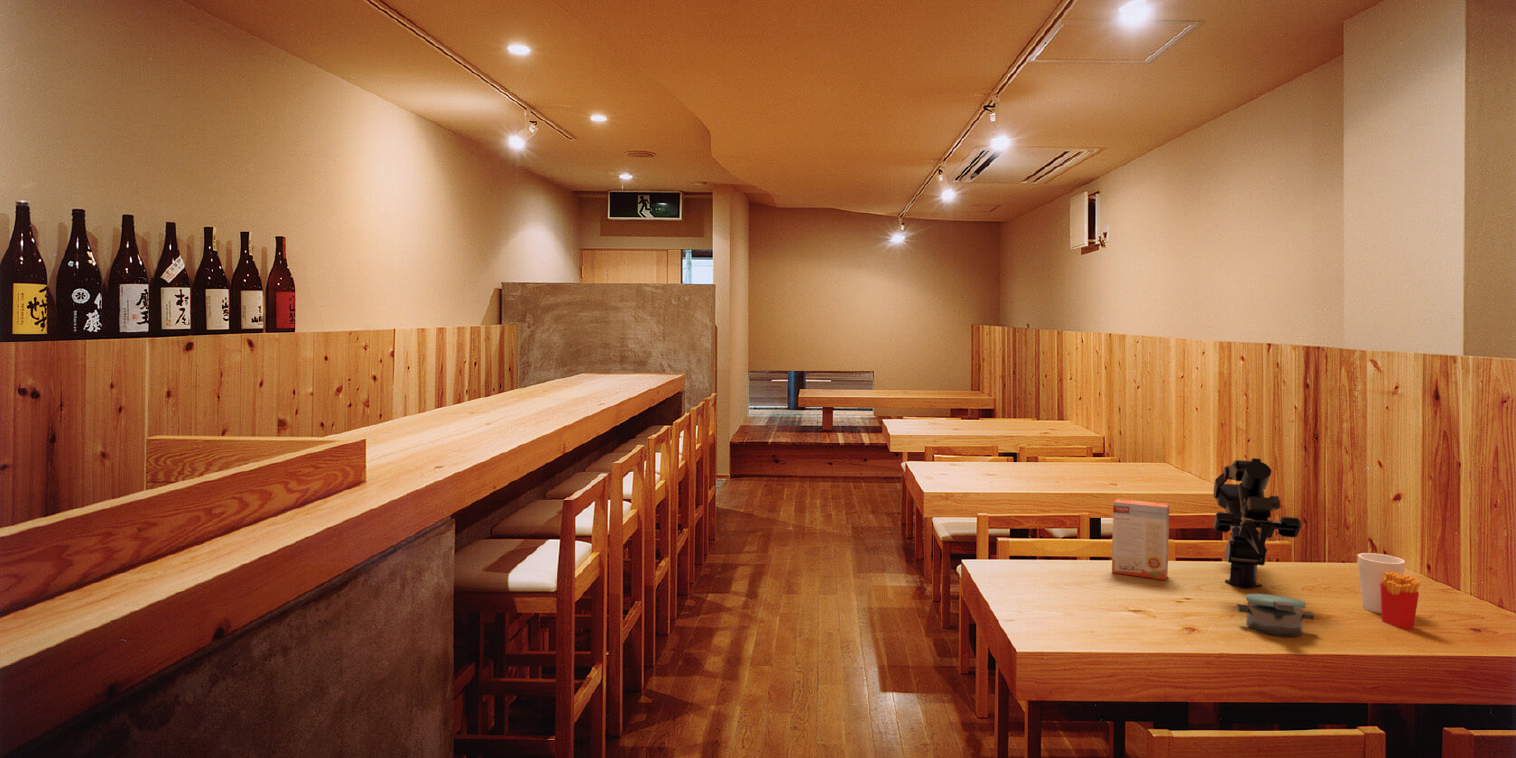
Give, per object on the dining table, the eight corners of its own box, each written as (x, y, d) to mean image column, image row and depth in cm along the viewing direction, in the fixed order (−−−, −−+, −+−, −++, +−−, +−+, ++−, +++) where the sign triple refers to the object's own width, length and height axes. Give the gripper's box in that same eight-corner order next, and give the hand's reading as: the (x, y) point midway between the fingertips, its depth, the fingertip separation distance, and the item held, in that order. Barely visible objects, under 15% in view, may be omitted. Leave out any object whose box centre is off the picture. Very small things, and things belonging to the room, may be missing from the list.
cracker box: (1167, 575, 230) (1170, 503, 228) (1165, 581, 225) (1167, 507, 223) (1114, 567, 237) (1116, 497, 236) (1111, 573, 232) (1113, 501, 231)
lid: (1241, 596, 196) (1241, 591, 197) (1297, 601, 192) (1297, 596, 193) (1255, 607, 182) (1255, 602, 182) (1316, 613, 178) (1316, 608, 178)
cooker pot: (1232, 615, 198) (1232, 595, 198) (1303, 623, 193) (1304, 602, 193) (1242, 632, 187) (1242, 611, 187) (1318, 641, 182) (1319, 619, 182)
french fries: (1374, 618, 196) (1377, 569, 195) (1389, 617, 197) (1391, 569, 196) (1408, 631, 188) (1410, 580, 187) (1422, 630, 188) (1425, 579, 188)
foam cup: (1389, 618, 196) (1392, 565, 195) (1347, 606, 204) (1349, 556, 203) (1409, 612, 200) (1412, 560, 200) (1367, 600, 209) (1370, 551, 208)
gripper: (1217, 481, 211) (1223, 533, 201) (1300, 486, 204) (1311, 540, 195) (1210, 504, 219) (1216, 555, 209) (1291, 510, 212) (1301, 563, 203)
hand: (1260, 553), depth 204 cm, fingers closed
